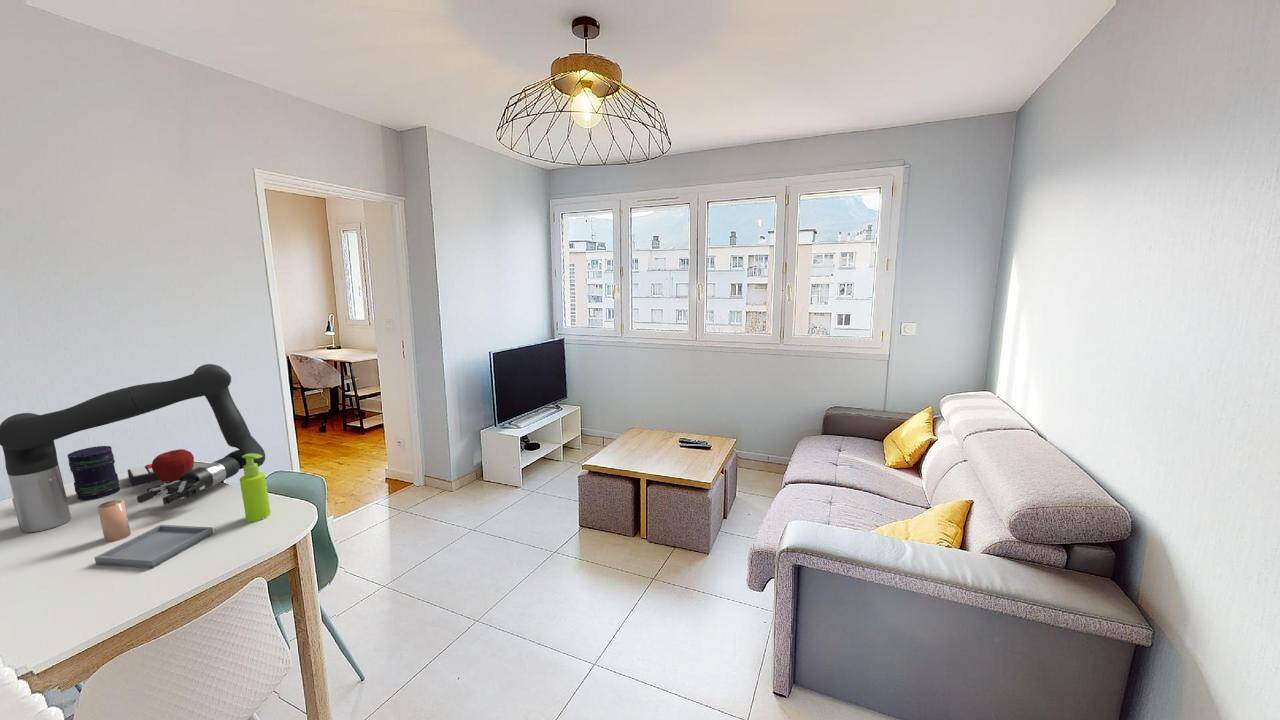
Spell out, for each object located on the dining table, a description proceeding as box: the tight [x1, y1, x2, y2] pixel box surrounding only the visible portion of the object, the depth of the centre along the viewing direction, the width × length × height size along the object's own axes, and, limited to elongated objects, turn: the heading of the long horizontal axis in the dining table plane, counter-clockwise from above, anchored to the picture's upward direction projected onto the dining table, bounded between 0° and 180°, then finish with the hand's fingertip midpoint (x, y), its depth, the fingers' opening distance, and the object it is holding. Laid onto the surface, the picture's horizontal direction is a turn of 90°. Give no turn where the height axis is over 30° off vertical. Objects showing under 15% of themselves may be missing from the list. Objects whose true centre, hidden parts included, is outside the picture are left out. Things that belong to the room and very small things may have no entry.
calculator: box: [127, 463, 161, 488], centre depth 176 cm, size 11×4×15 cm
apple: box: [151, 448, 195, 483], centre depth 170 cm, size 11×11×12 cm
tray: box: [94, 524, 215, 569], centre depth 131 cm, size 16×16×2 cm
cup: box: [96, 499, 132, 543], centre depth 135 cm, size 5×5×10 cm
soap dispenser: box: [239, 453, 271, 522], centre depth 145 cm, size 6×7×20 cm
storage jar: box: [66, 445, 121, 501], centre depth 160 cm, size 10×10×15 cm
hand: (151, 500), depth 145 cm, fingers open, 8 cm apart
